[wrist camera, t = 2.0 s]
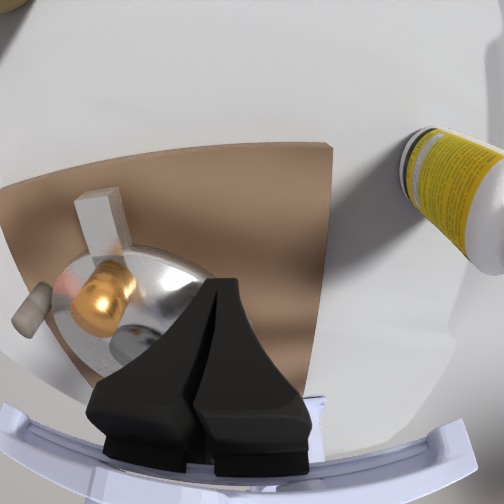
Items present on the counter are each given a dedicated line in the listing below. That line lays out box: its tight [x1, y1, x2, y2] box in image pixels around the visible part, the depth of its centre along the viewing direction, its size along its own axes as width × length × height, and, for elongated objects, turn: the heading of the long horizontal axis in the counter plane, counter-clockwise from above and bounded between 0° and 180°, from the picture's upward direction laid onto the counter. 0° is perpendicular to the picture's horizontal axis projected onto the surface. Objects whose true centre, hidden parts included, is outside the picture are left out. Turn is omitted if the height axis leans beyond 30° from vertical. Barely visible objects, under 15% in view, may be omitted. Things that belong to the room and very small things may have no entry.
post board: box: [0, 142, 333, 398], centre depth 17 cm, size 22×22×6 cm
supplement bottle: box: [399, 126, 504, 275], centre depth 9 cm, size 5×5×10 cm
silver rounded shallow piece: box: [51, 187, 254, 378], centre depth 15 cm, size 17×14×4 cm
